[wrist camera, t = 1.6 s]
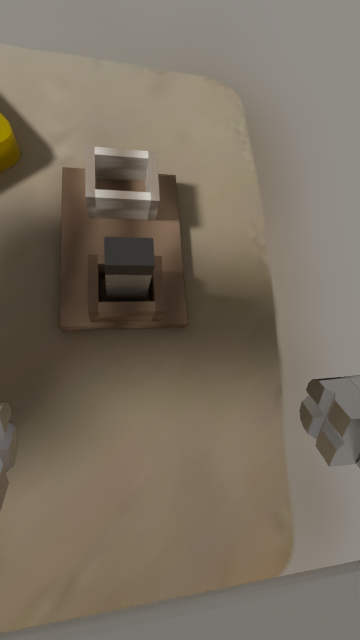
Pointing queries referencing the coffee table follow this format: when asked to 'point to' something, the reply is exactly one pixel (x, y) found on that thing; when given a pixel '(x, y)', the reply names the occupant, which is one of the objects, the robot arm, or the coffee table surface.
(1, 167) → the element tile
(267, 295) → the coffee table surface
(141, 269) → the brushed metal bar
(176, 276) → the caddy
